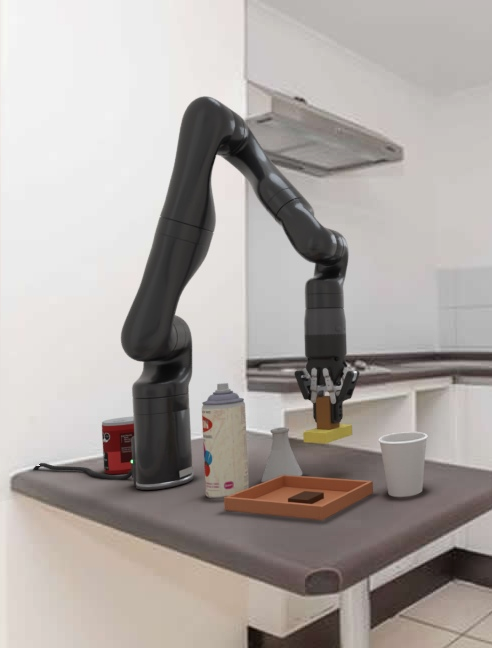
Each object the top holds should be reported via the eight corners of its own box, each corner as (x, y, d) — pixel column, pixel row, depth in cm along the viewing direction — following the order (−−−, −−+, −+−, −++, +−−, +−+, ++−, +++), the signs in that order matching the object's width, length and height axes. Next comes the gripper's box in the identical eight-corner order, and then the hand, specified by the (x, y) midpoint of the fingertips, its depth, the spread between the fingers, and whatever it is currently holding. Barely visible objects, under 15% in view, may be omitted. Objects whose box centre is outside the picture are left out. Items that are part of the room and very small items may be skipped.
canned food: (115, 466, 123) (113, 417, 123) (155, 463, 124) (153, 415, 124) (95, 476, 115) (93, 423, 115) (138, 472, 117) (135, 421, 116)
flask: (287, 486, 103) (285, 432, 103) (253, 485, 105) (250, 432, 104) (309, 474, 110) (307, 425, 110) (277, 474, 112) (275, 425, 111)
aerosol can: (205, 494, 100) (199, 383, 100) (246, 486, 104) (241, 380, 103) (207, 504, 94) (201, 387, 94) (251, 495, 98) (246, 383, 97)
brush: (303, 442, 103) (302, 399, 103) (331, 433, 110) (330, 393, 110) (325, 443, 101) (324, 400, 101) (352, 434, 109) (351, 394, 109)
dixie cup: (425, 484, 101) (423, 429, 101) (434, 497, 93) (431, 438, 93) (378, 490, 98) (376, 434, 98) (383, 504, 90) (380, 444, 90)
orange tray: (224, 512, 89) (223, 497, 89) (284, 488, 102) (283, 474, 102) (322, 523, 83) (322, 506, 83) (373, 495, 96) (372, 481, 96)
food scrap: (287, 504, 91) (287, 498, 91) (304, 496, 95) (304, 490, 95) (307, 506, 90) (307, 500, 90) (324, 498, 93) (323, 492, 93)
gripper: (368, 331, 107) (370, 420, 107) (308, 332, 111) (311, 417, 112) (344, 332, 100) (346, 427, 100) (281, 333, 104) (284, 424, 104)
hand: (328, 421), depth 106 cm, fingers closed on brush, 3 cm apart
